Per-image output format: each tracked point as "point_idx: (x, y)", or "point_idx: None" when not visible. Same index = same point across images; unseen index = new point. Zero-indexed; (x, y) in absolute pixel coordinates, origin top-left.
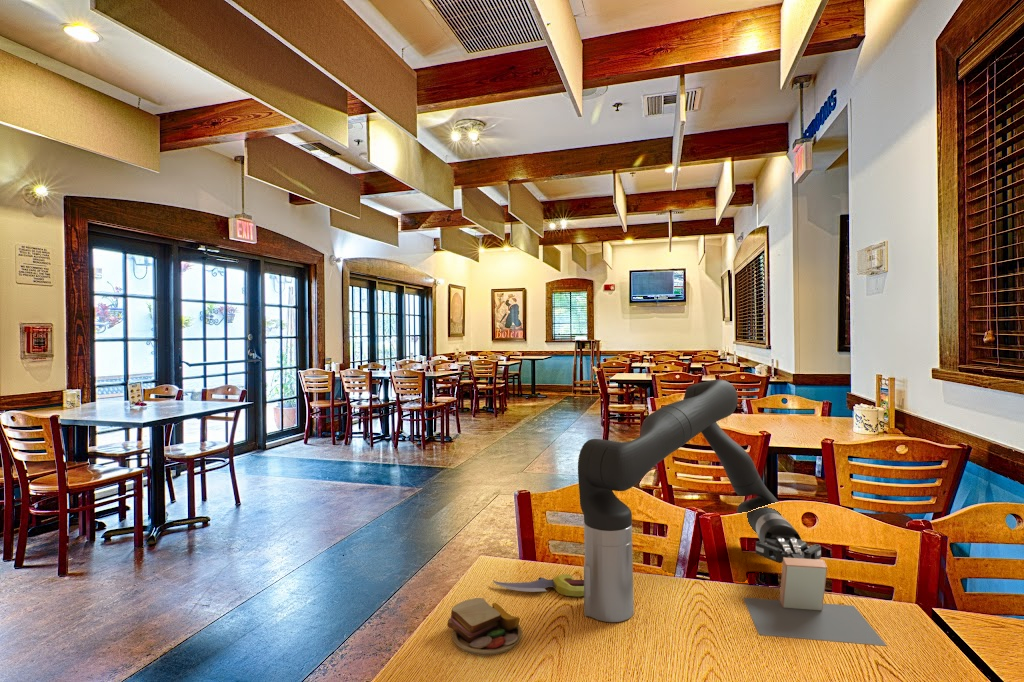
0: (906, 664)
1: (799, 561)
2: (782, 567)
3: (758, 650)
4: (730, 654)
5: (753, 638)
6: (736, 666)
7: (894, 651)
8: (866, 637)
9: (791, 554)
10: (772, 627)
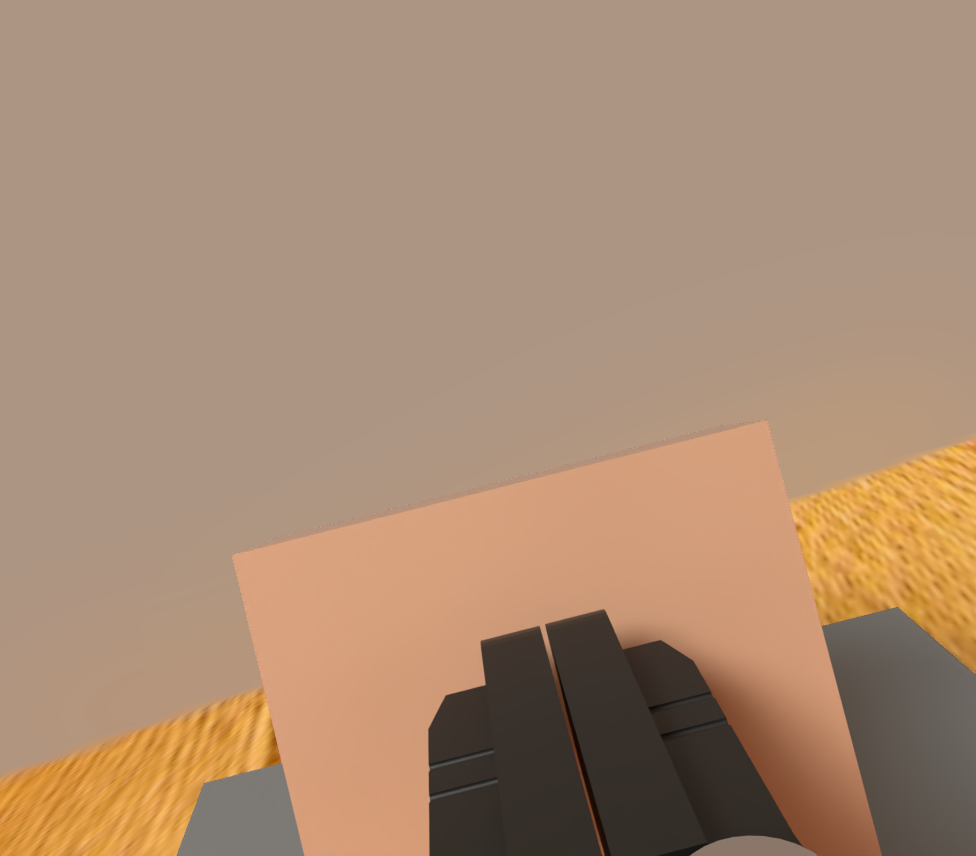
0: (199, 748)
1: (562, 469)
2: (811, 595)
3: (868, 580)
4: (970, 518)
5: (940, 642)
6: (905, 487)
7: (169, 834)
8: (269, 821)
9: (700, 834)
10: (852, 694)
